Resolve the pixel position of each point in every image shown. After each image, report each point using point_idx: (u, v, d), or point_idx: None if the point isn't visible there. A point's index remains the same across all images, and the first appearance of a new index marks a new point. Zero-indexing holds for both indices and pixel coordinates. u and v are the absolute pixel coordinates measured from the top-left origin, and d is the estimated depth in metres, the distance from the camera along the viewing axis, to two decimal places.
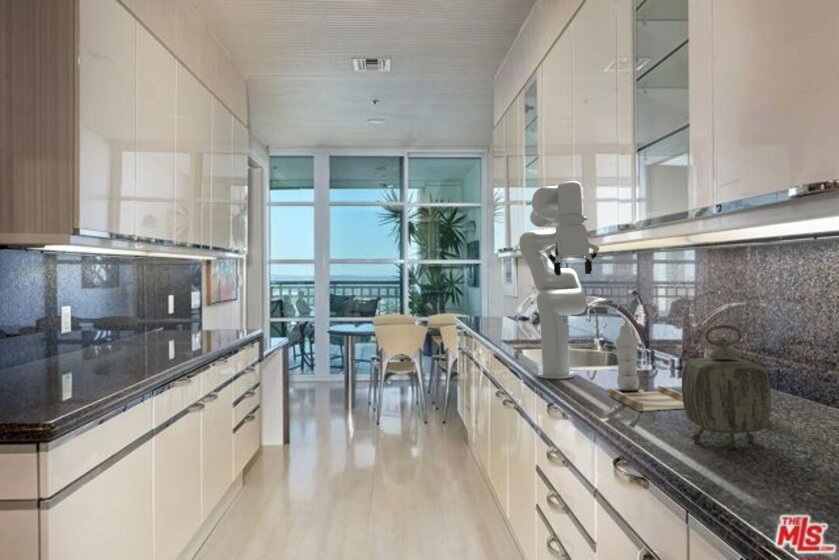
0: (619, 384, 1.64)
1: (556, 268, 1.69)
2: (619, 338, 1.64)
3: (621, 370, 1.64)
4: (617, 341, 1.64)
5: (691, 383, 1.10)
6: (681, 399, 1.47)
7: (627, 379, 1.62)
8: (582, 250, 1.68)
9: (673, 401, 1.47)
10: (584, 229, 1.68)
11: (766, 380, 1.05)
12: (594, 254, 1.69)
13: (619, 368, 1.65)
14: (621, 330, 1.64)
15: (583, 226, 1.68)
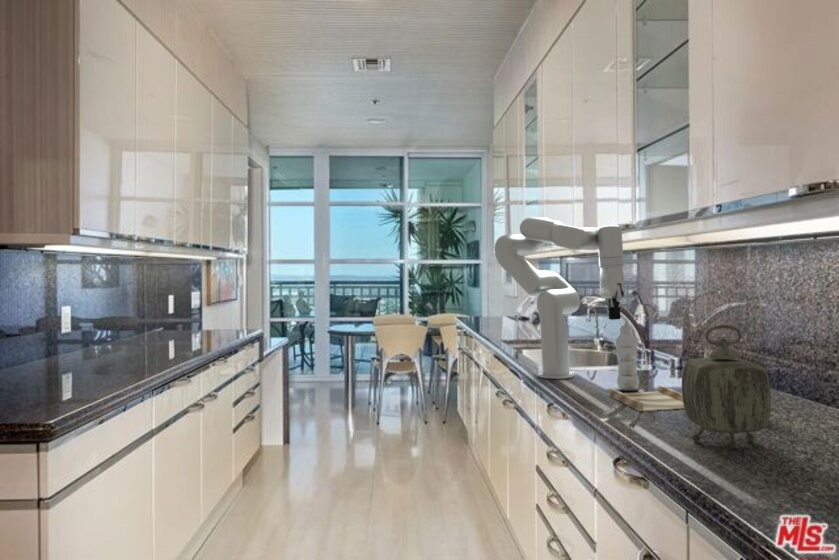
0: (619, 384, 1.64)
1: None
2: (619, 338, 1.64)
3: (621, 370, 1.64)
4: (617, 341, 1.64)
5: (691, 383, 1.10)
6: (681, 399, 1.47)
7: (627, 379, 1.62)
8: None
9: (673, 401, 1.47)
10: None
11: (766, 380, 1.05)
12: None
13: (619, 368, 1.65)
14: (621, 330, 1.64)
15: None
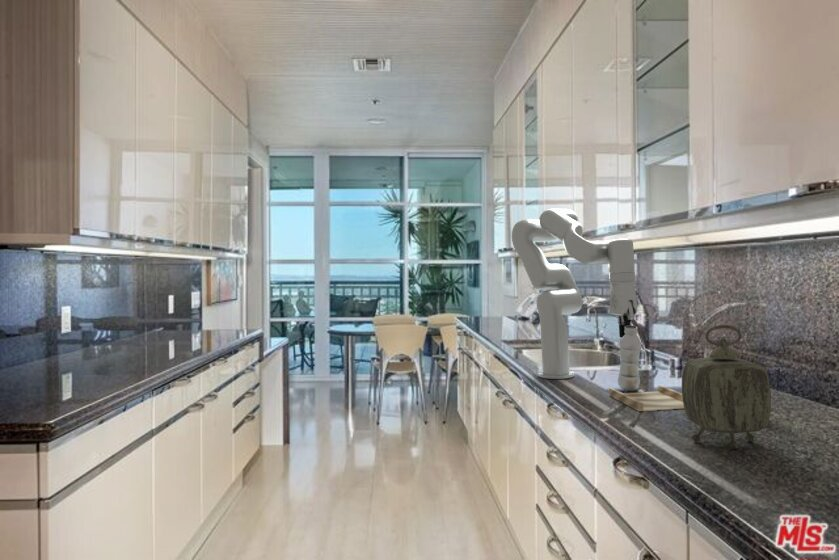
0: (620, 383, 1.64)
1: None
2: (624, 339, 1.61)
3: (623, 370, 1.62)
4: (621, 342, 1.61)
5: (691, 383, 1.10)
6: (681, 399, 1.47)
7: (628, 380, 1.61)
8: None
9: (673, 401, 1.47)
10: None
11: (766, 380, 1.05)
12: None
13: (621, 368, 1.63)
14: (626, 331, 1.60)
15: None
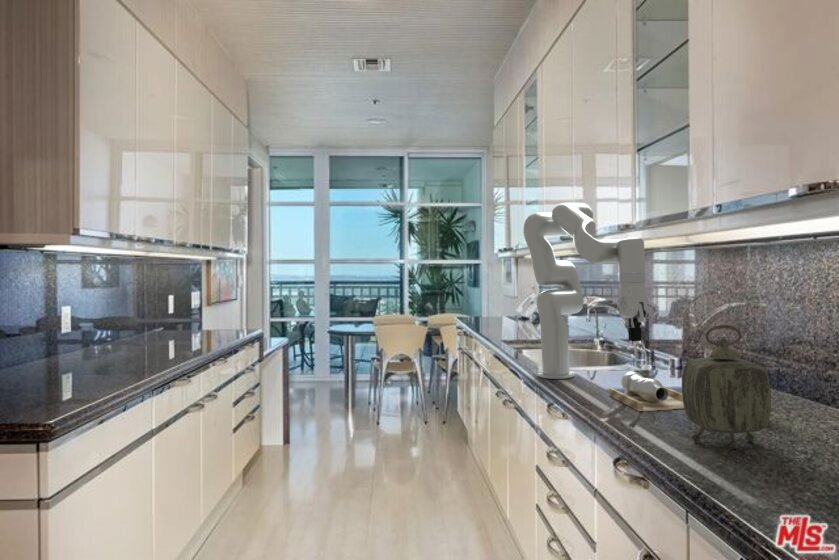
0: (623, 388, 1.60)
1: None
2: (648, 397, 1.46)
3: (633, 391, 1.55)
4: (644, 396, 1.47)
5: (691, 383, 1.10)
6: (681, 399, 1.47)
7: None
8: None
9: (673, 401, 1.47)
10: None
11: (766, 380, 1.05)
12: None
13: (631, 389, 1.55)
14: (655, 398, 1.43)
15: None
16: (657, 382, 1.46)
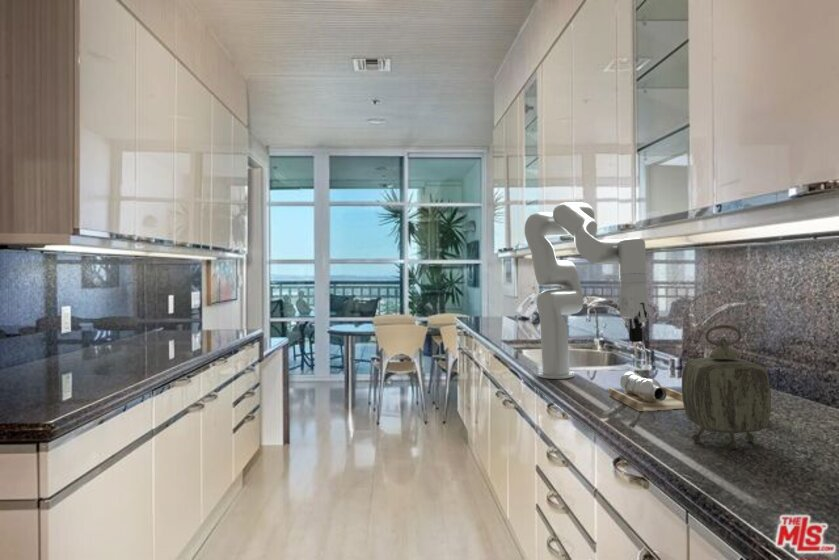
0: (623, 389, 1.60)
1: None
2: (647, 397, 1.46)
3: (632, 392, 1.55)
4: (643, 397, 1.47)
5: (691, 383, 1.10)
6: (681, 399, 1.47)
7: None
8: None
9: (673, 401, 1.47)
10: None
11: (766, 380, 1.05)
12: None
13: (630, 390, 1.55)
14: (654, 398, 1.43)
15: None
16: (654, 382, 1.46)
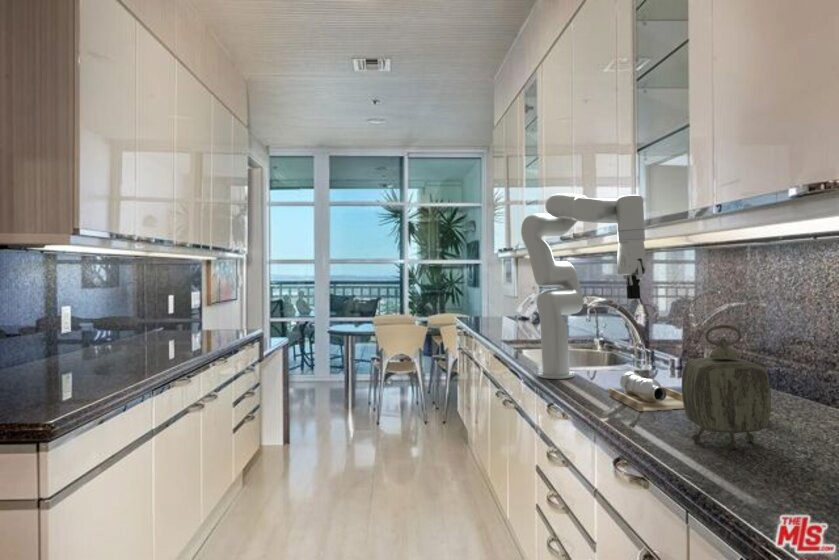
0: (623, 389, 1.60)
1: None
2: (647, 398, 1.46)
3: (632, 392, 1.55)
4: (643, 397, 1.47)
5: (691, 383, 1.10)
6: (681, 399, 1.47)
7: None
8: None
9: (673, 401, 1.47)
10: None
11: (766, 380, 1.05)
12: None
13: (630, 390, 1.55)
14: (654, 398, 1.43)
15: None
16: (654, 382, 1.46)
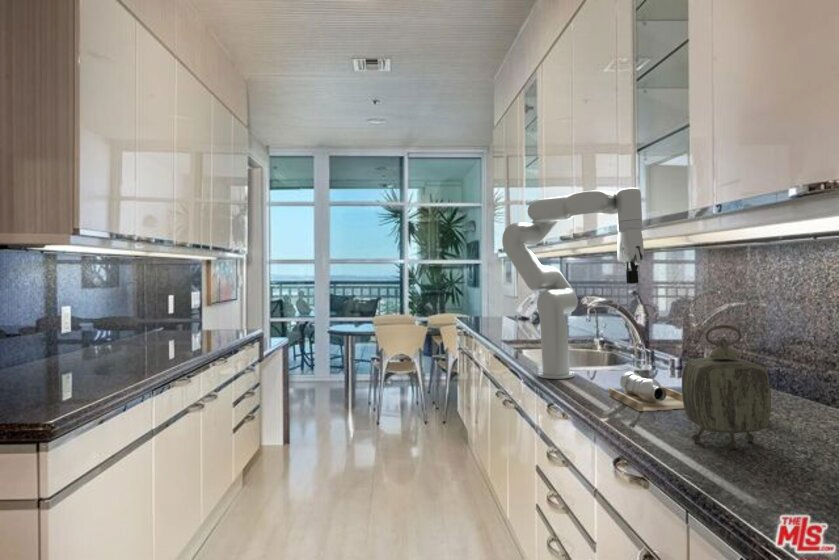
0: (623, 389, 1.60)
1: None
2: (647, 398, 1.46)
3: (632, 392, 1.55)
4: (643, 397, 1.47)
5: (691, 383, 1.10)
6: (681, 399, 1.47)
7: None
8: None
9: (673, 401, 1.47)
10: None
11: (766, 380, 1.05)
12: None
13: (630, 390, 1.55)
14: (654, 398, 1.43)
15: None
16: (654, 382, 1.46)
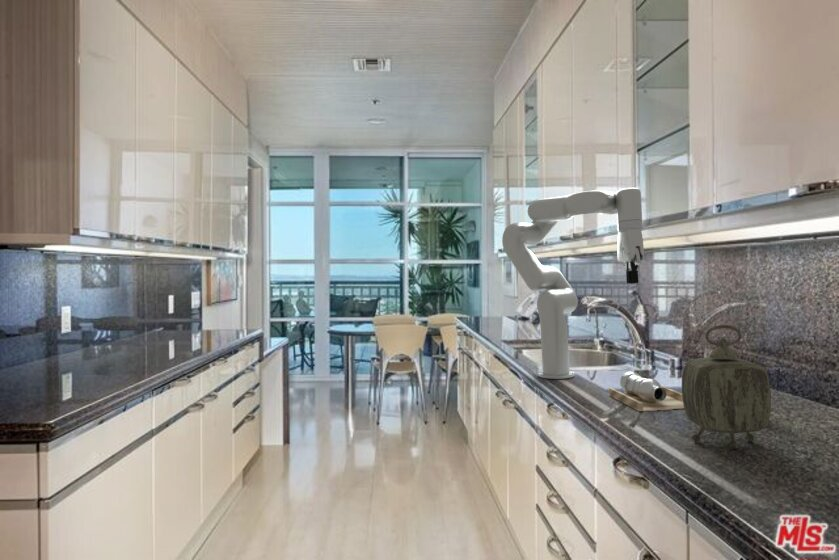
0: (623, 389, 1.60)
1: None
2: (647, 398, 1.46)
3: (632, 392, 1.55)
4: (643, 397, 1.47)
5: (691, 383, 1.10)
6: (681, 399, 1.47)
7: None
8: None
9: (673, 401, 1.47)
10: None
11: (766, 380, 1.05)
12: None
13: (630, 390, 1.55)
14: (654, 398, 1.43)
15: None
16: (654, 382, 1.46)
